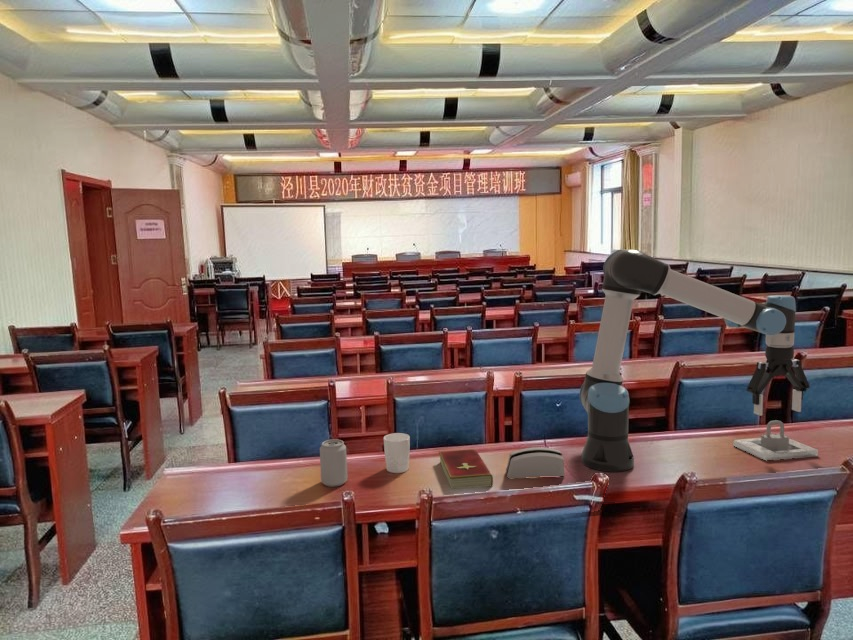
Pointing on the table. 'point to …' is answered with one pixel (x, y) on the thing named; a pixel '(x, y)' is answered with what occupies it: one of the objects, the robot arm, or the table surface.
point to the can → (333, 463)
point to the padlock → (775, 438)
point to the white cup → (397, 452)
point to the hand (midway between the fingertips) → (777, 412)
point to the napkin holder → (535, 463)
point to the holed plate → (794, 451)
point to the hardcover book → (465, 469)
